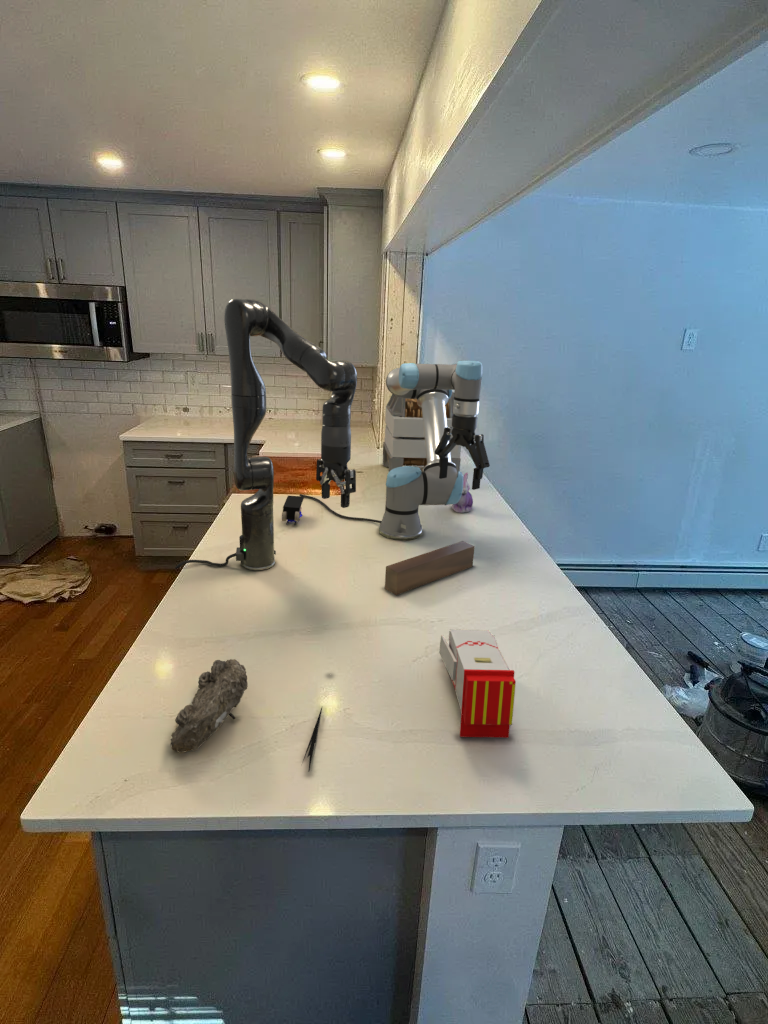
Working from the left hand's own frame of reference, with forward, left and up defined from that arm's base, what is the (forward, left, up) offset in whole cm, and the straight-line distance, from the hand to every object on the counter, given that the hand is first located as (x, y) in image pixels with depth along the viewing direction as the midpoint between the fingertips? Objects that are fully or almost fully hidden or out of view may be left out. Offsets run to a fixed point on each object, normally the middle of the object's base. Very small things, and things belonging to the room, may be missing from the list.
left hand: (335, 502), depth 149 cm
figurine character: (-31, +47, -26) cm, 62 cm away
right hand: (+29, +35, -1) cm, 45 cm away
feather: (+14, -50, -26) cm, 58 cm away
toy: (+41, -34, -26) cm, 59 cm away
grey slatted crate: (+1, +128, -26) cm, 130 cm away
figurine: (+27, +82, -26) cm, 90 cm away
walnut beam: (+25, +17, -26) cm, 40 cm away
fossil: (-6, -55, -26) cm, 61 cm away
